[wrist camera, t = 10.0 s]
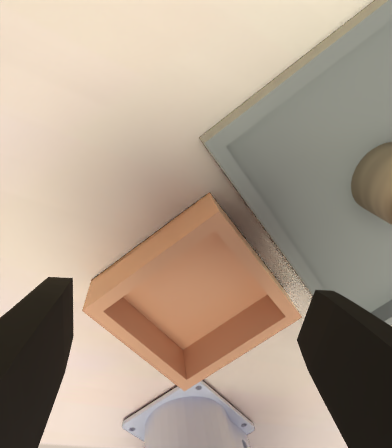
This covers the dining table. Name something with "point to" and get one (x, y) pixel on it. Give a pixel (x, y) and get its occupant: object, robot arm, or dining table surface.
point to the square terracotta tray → (191, 296)
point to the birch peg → (375, 182)
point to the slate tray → (320, 159)
